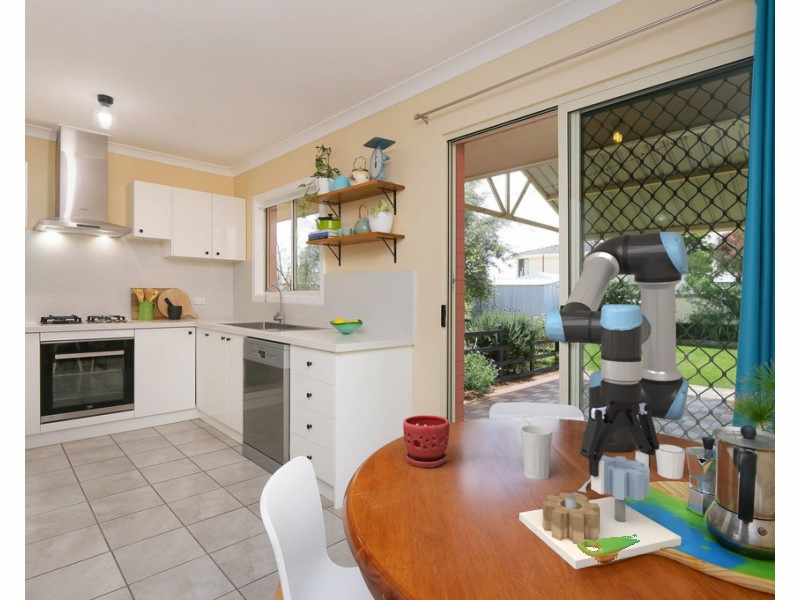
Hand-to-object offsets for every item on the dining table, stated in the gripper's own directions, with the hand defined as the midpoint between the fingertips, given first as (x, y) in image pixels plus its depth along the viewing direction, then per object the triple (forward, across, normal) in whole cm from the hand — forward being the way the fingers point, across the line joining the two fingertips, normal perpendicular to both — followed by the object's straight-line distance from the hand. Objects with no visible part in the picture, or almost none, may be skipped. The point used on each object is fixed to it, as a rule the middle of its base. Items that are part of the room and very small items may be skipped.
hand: (620, 487), depth 94 cm
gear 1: (+7, +12, 0) cm, 14 cm away
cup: (+8, +1, -28) cm, 29 cm away
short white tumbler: (+8, -32, -17) cm, 37 cm away
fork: (+9, -8, -19) cm, 22 cm away
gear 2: (0, 0, 0) cm, 0 cm away
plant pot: (+8, +25, -46) cm, 53 cm away
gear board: (+8, +6, 0) cm, 10 cm away
